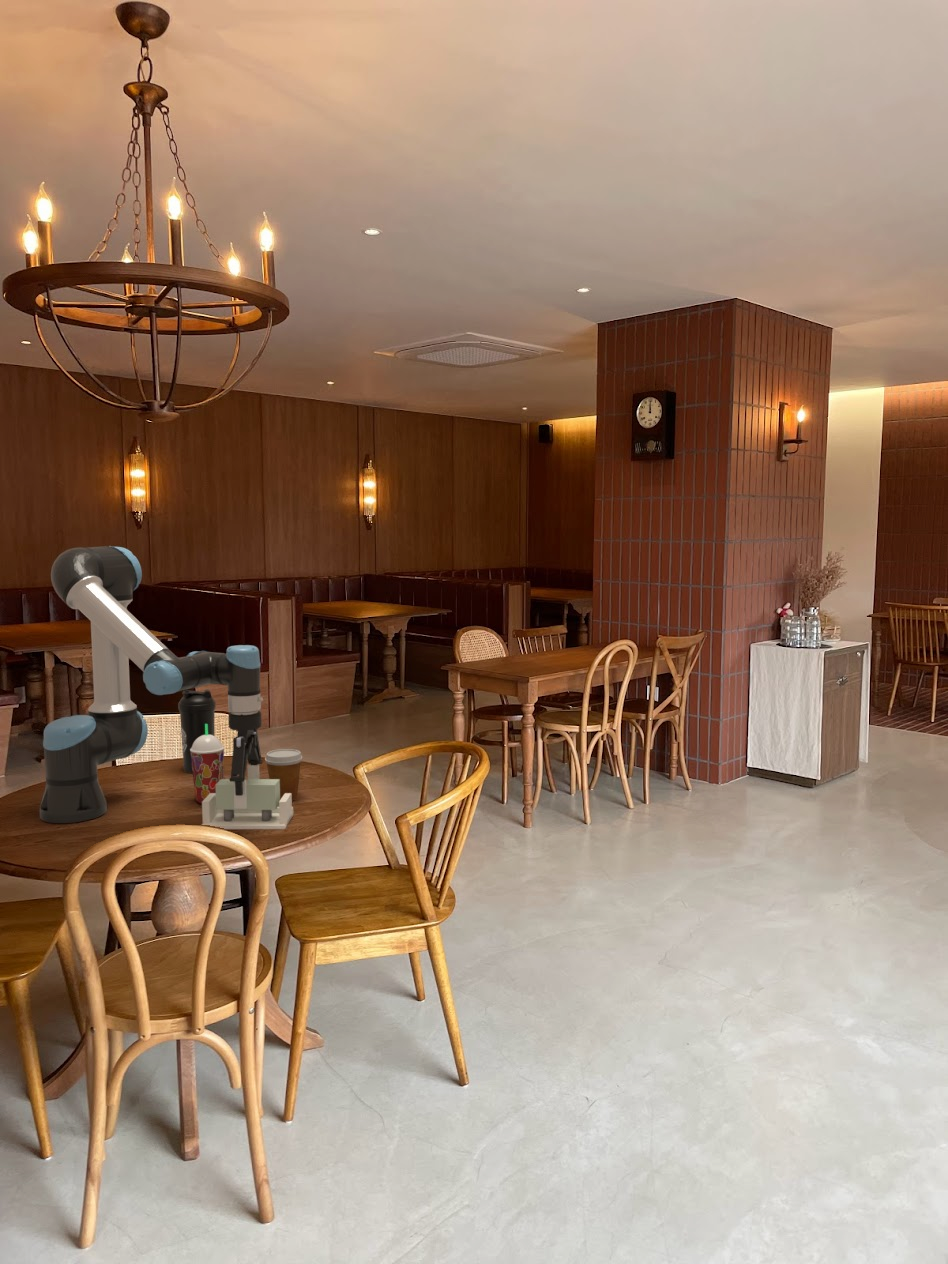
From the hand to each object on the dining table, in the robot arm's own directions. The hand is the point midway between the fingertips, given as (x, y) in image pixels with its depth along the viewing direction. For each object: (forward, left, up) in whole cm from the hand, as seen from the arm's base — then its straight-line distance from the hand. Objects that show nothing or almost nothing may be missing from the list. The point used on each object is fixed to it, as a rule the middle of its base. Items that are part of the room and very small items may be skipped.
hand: (247, 799), depth 227 cm
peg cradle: (0, 0, -5) cm, 5 cm away
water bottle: (-25, +47, -6) cm, 54 cm away
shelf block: (0, 0, -2) cm, 2 cm away
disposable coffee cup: (+5, +19, -6) cm, 20 cm away
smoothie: (-14, +17, -6) cm, 23 cm away
